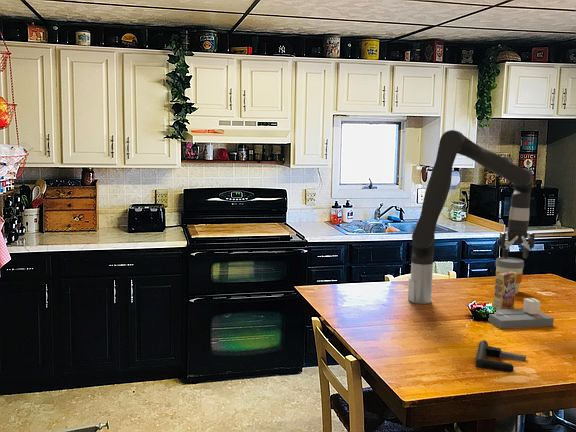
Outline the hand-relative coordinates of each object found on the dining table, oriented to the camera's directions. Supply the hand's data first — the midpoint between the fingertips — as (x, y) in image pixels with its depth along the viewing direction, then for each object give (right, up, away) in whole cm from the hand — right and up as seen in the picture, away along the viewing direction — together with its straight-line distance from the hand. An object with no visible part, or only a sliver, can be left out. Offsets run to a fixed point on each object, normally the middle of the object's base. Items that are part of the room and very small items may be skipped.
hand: (514, 258), depth 244 cm
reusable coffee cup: (+11, -18, +39) cm, 44 cm away
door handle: (-23, -30, -48) cm, 61 cm away
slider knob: (+4, -21, -7) cm, 22 cm away
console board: (-2, -24, -7) cm, 25 cm away
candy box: (-1, -22, +11) cm, 25 cm away
